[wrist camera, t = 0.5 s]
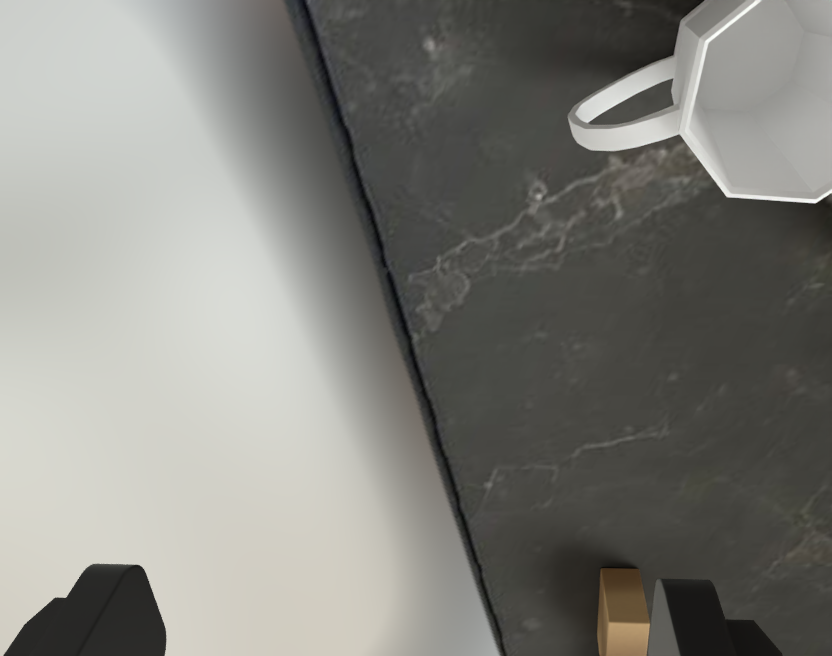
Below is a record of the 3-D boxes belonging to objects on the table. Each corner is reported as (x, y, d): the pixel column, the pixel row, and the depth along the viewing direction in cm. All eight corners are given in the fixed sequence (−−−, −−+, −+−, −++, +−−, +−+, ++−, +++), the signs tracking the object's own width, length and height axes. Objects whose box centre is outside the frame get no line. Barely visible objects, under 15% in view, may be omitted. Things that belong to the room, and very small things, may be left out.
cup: (836, 104, 29) (943, 169, 22) (584, 181, 31) (607, 261, 24) (818, -89, 25) (936, -86, 19) (540, 14, 28) (551, 51, 21)
